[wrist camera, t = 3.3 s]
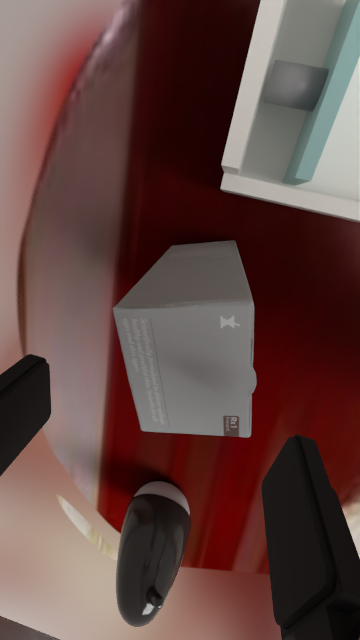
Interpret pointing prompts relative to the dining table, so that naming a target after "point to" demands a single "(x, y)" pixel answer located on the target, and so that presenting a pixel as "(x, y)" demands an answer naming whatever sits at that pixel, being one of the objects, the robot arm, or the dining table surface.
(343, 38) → the pusher
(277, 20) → the open box with divider
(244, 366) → the skincare box
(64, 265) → the dining table surface
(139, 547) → the dark grey egg shape
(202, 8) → the dining table surface
